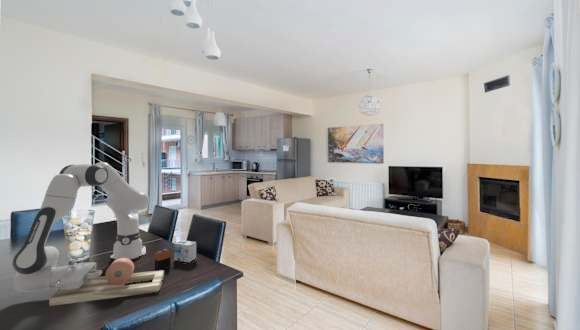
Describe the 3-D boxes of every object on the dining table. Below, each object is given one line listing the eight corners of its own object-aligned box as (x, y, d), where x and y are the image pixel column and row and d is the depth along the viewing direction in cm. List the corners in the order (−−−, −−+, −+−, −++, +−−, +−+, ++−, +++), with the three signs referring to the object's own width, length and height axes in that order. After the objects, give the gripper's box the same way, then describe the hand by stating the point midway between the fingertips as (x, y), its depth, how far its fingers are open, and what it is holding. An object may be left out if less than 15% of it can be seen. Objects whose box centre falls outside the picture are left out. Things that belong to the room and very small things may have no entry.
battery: (170, 267, 147) (170, 249, 146) (158, 271, 141) (158, 252, 141) (166, 265, 149) (166, 247, 149) (154, 269, 144) (154, 251, 143)
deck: (69, 286, 124) (69, 280, 124) (164, 275, 136) (164, 269, 136) (49, 306, 108) (49, 298, 108) (159, 291, 120) (159, 285, 120)
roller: (118, 254, 125) (138, 263, 128) (105, 273, 123) (126, 282, 126) (114, 258, 119) (135, 268, 122) (100, 279, 117) (122, 288, 120)
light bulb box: (173, 261, 155) (173, 243, 154) (181, 257, 161) (181, 239, 161) (188, 264, 151) (189, 245, 151) (196, 260, 158) (196, 241, 157)
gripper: (50, 280, 106) (91, 276, 110) (74, 261, 125) (108, 258, 130) (50, 296, 106) (92, 291, 111) (74, 274, 126) (108, 270, 130)
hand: (101, 273), depth 120 cm, fingers closed
